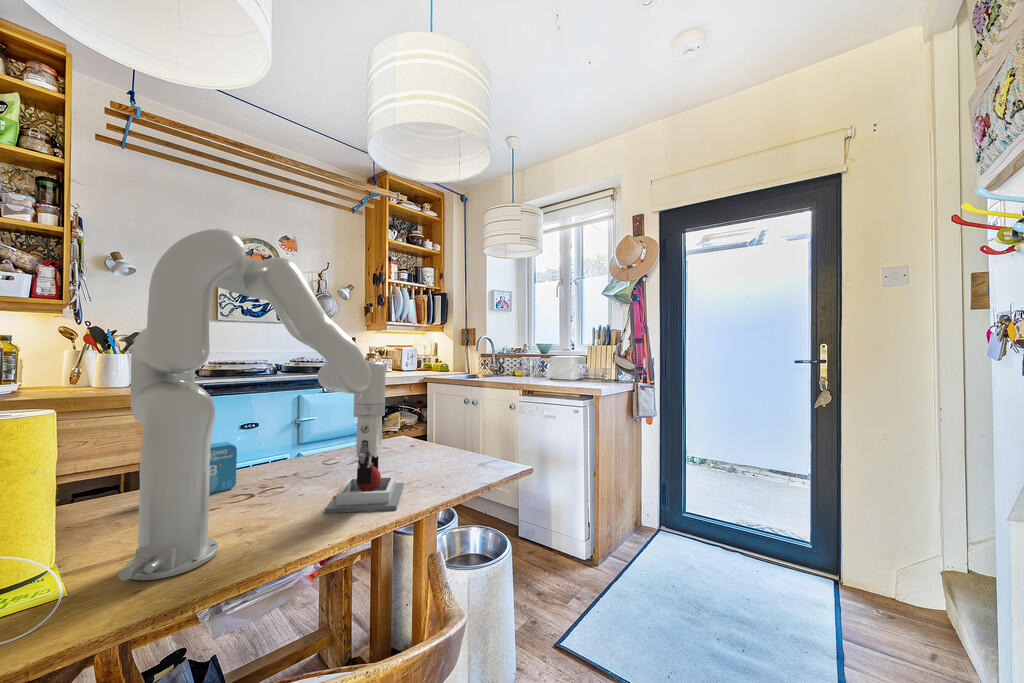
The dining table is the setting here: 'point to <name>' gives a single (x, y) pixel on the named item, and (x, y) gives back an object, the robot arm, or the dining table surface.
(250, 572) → the dining table surface
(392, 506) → the tray
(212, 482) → the data package
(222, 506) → the dining table surface
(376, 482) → the onion
